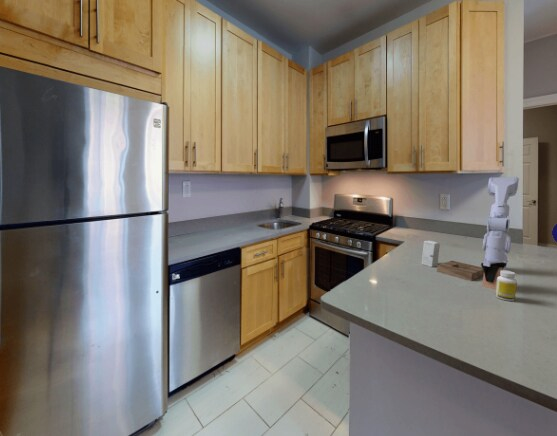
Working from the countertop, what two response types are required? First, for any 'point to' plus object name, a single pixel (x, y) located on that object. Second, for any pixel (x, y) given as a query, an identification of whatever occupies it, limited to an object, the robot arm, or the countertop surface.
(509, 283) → the supplement bottle
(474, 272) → the walnut socket block
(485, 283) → the terracotta peg
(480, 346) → the countertop surface
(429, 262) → the skincare box
